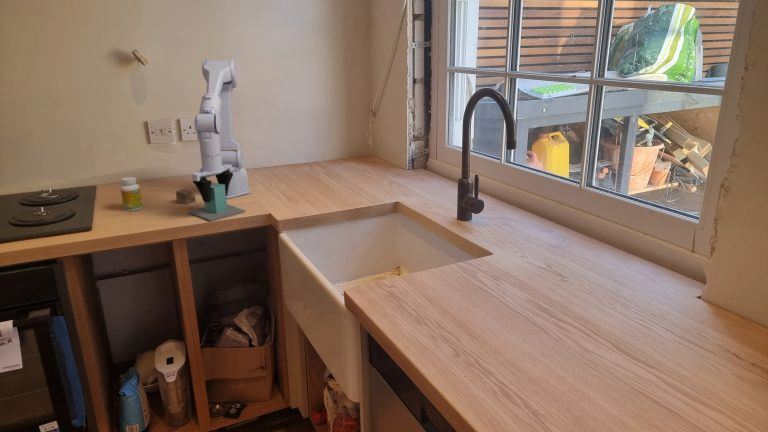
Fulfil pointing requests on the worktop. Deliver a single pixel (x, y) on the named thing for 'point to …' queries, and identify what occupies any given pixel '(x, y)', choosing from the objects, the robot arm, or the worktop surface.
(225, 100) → the robot arm
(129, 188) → the supplement bottle
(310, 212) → the worktop surface
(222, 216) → the slate mat
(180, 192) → the walnut block
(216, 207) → the teal block
